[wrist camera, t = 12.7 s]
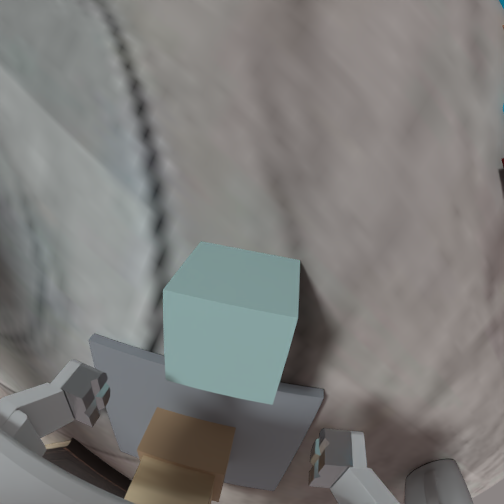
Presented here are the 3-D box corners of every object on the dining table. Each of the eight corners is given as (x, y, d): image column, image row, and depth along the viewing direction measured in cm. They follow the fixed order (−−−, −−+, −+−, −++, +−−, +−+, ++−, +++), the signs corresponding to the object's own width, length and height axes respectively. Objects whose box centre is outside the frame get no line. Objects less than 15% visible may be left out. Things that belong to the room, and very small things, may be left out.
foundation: (94, 333, 20) (56, 378, 15) (323, 389, 19) (323, 452, 14) (123, 445, 26) (105, 481, 22) (274, 484, 25) (268, 525, 21)
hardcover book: (142, 513, 40) (139, 522, 38) (40, 442, 35) (33, 452, 33) (201, 516, 35) (197, 527, 33) (75, 434, 29) (67, 447, 27)
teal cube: (201, 240, 16) (163, 289, 11) (300, 259, 16) (297, 318, 11) (195, 320, 18) (165, 379, 13) (281, 338, 18) (272, 404, 13)
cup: (403, 492, 25) (408, 553, 17) (383, 463, 22) (389, 543, 14) (465, 468, 22) (478, 529, 14) (461, 433, 20) (482, 511, 12)
